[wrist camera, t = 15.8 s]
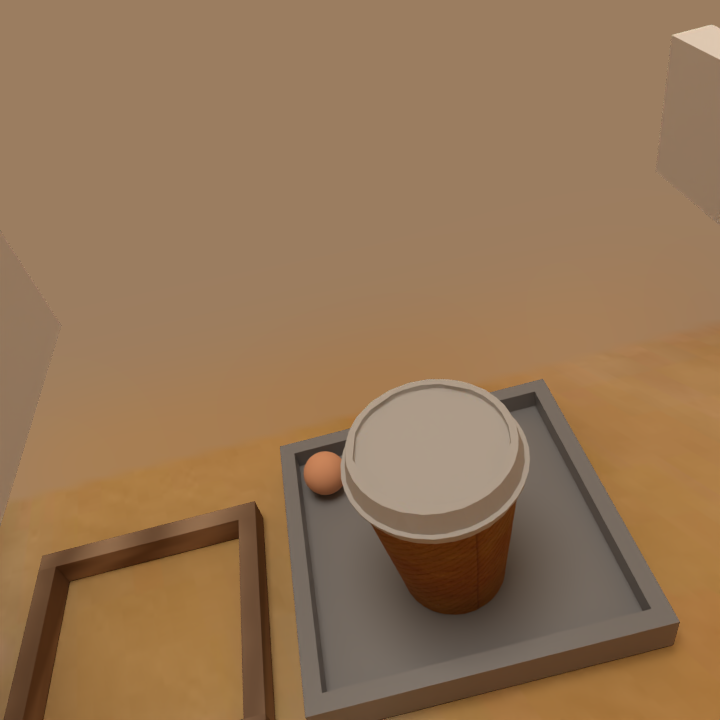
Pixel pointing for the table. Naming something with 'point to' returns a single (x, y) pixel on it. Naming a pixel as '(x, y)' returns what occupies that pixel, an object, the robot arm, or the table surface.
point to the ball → (323, 473)
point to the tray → (490, 622)
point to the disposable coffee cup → (439, 487)
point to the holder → (134, 549)
